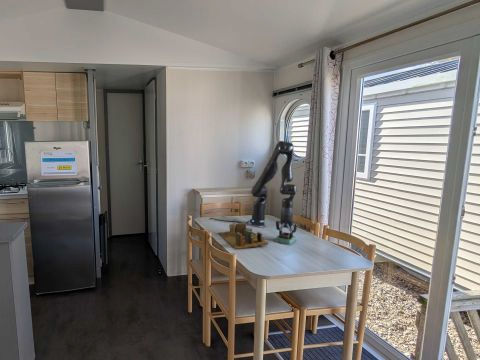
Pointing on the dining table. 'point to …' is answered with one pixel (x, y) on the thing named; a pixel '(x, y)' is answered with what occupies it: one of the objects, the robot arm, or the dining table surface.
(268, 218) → the dining table surface
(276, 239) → the holder
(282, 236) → the frame
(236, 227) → the brown tray with blocks
